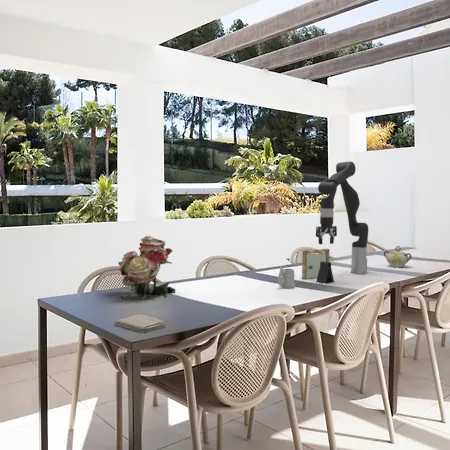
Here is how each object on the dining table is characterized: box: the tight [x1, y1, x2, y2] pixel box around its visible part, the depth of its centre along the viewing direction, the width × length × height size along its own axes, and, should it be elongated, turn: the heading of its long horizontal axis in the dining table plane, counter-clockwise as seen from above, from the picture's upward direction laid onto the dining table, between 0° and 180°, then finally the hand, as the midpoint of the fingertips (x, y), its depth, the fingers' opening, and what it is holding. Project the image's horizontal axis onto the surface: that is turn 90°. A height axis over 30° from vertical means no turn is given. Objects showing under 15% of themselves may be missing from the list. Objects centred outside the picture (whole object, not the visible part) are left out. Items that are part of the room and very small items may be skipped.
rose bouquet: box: [117, 235, 176, 301], centre depth 248 cm, size 26×29×30 cm
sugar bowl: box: [383, 245, 412, 268], centre depth 356 cm, size 20×15×15 cm
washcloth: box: [114, 313, 166, 334], centre depth 193 cm, size 12×18×3 cm, turn 51°
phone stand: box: [316, 261, 335, 284], centre depth 291 cm, size 9×6×12 cm, turn 128°
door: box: [306, 253, 326, 280], centre depth 305 cm, size 15×3×15 cm, turn 121°
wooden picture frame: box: [301, 248, 330, 280], centre depth 306 cm, size 20×2×18 cm, turn 121°
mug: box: [277, 266, 296, 289], centre depth 274 cm, size 8×12×12 cm, turn 133°
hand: (326, 244), depth 290 cm, fingers open, 8 cm apart
